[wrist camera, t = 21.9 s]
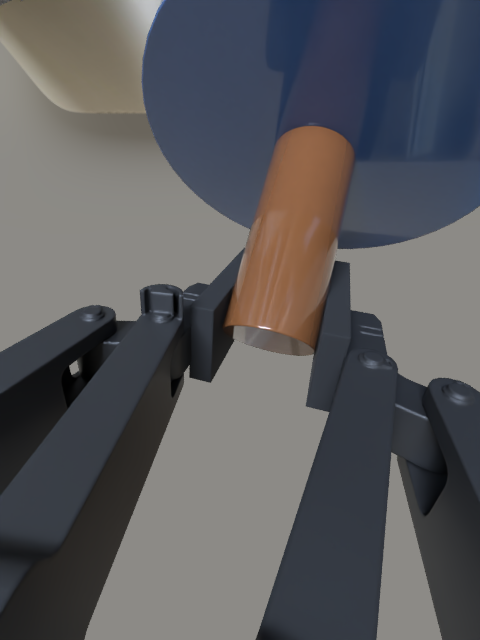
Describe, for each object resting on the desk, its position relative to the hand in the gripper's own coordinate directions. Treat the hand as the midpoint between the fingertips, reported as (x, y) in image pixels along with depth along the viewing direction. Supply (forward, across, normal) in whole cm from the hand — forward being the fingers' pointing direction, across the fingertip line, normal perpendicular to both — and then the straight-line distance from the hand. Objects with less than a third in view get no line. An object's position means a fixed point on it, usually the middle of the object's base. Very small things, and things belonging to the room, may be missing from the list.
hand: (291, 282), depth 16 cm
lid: (0, 0, +6) cm, 6 cm away
